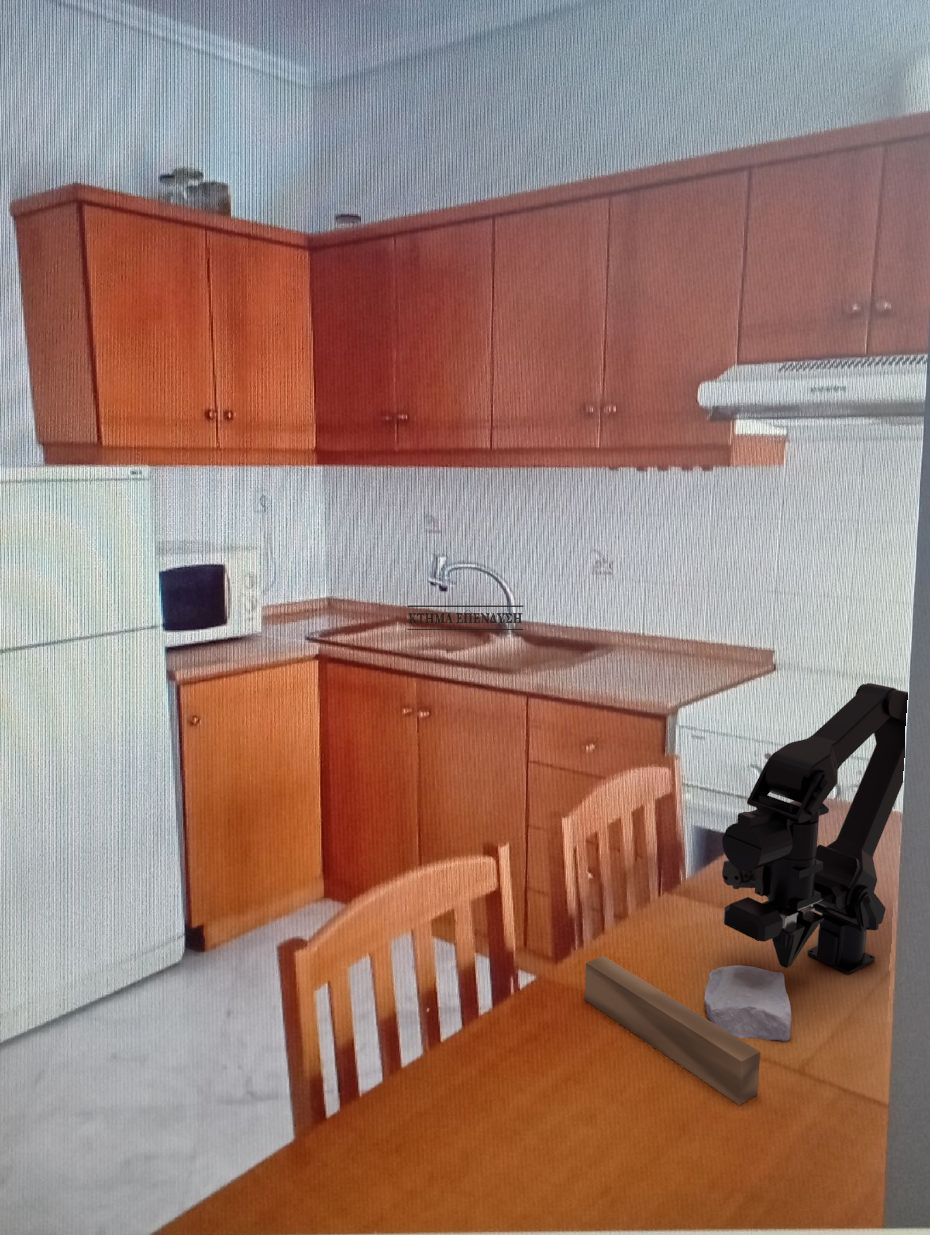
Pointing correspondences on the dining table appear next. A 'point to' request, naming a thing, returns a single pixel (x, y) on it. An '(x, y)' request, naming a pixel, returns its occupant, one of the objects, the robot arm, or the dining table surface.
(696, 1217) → the dining table surface
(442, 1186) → the dining table surface
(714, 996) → the stone block
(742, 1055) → the board
